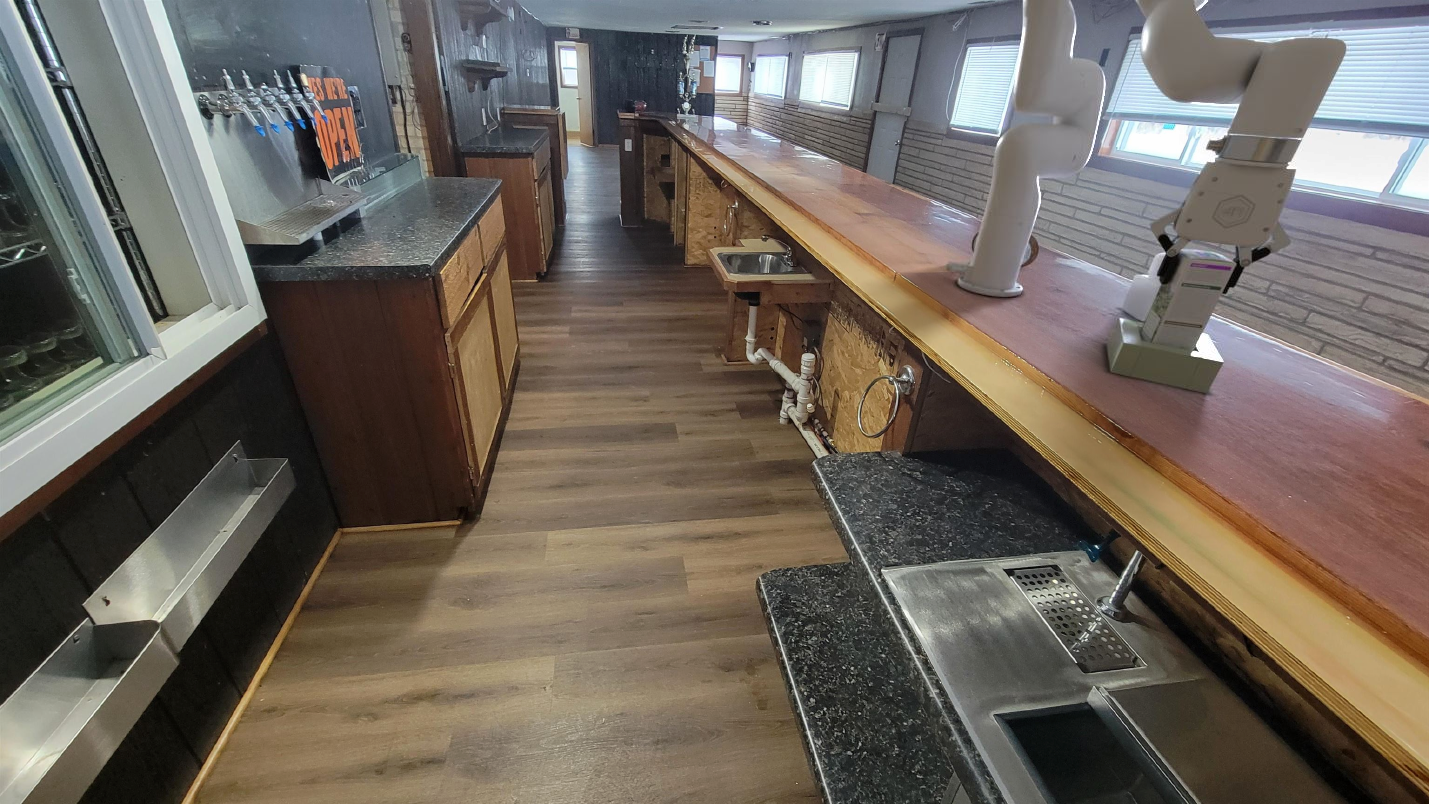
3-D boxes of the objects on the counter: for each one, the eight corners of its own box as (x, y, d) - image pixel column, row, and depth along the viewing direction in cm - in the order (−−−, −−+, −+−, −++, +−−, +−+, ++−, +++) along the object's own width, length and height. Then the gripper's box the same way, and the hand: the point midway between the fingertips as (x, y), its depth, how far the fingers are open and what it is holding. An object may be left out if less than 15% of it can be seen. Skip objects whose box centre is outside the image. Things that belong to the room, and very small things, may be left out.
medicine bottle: (1157, 311, 111) (1185, 251, 106) (1179, 325, 105) (1210, 261, 99) (1119, 308, 112) (1145, 248, 106) (1139, 322, 106) (1167, 258, 100)
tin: (1032, 270, 134) (1044, 235, 129) (1027, 273, 132) (1039, 236, 127) (971, 256, 143) (980, 222, 139) (965, 258, 141) (975, 224, 137)
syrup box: (1191, 359, 83) (1241, 262, 76) (1145, 352, 85) (1190, 256, 77) (1177, 345, 88) (1223, 252, 81) (1134, 338, 89) (1176, 247, 82)
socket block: (1110, 372, 86) (1123, 342, 83) (1106, 345, 95) (1118, 318, 92) (1206, 393, 81) (1224, 362, 78) (1193, 363, 90) (1207, 334, 88)
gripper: (1179, 148, 73) (1123, 282, 82) (1356, 161, 66) (1274, 306, 75) (1171, 144, 79) (1120, 270, 88) (1333, 156, 72) (1260, 291, 81)
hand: (1191, 285), depth 81 cm, fingers closed on syrup box, 6 cm apart
